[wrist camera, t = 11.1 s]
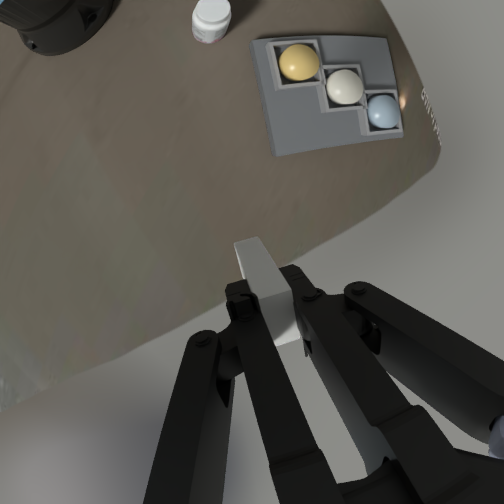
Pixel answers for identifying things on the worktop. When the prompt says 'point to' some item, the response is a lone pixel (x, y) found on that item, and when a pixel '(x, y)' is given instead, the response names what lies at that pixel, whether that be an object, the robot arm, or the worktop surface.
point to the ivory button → (343, 87)
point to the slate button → (382, 111)
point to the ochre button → (298, 62)
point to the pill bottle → (211, 20)
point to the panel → (322, 93)
